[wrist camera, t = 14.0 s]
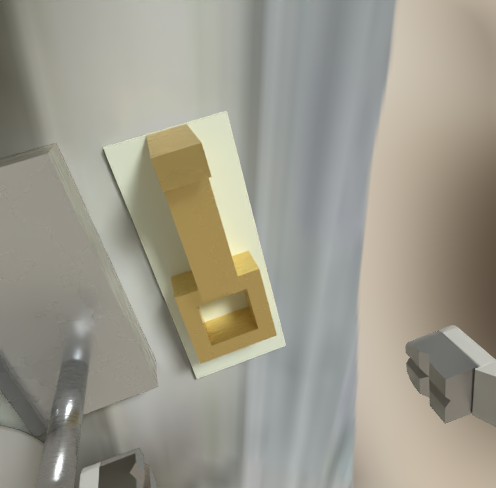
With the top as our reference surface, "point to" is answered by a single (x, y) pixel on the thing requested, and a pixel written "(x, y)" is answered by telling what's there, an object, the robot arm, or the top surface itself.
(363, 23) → the top surface
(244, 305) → the sage mat
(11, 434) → the cylinder vase
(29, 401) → the toggle switch block
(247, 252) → the brass hook
